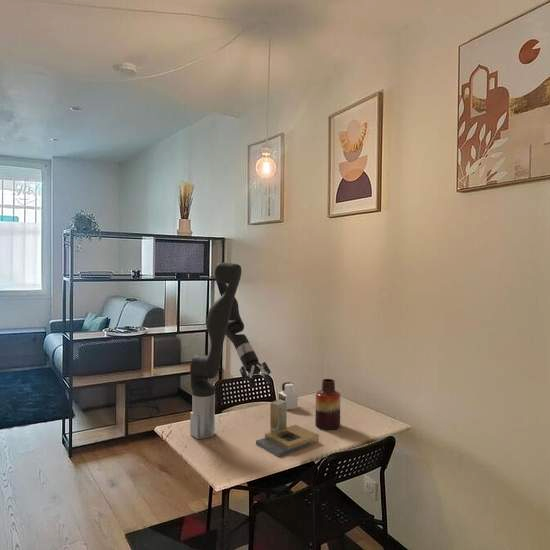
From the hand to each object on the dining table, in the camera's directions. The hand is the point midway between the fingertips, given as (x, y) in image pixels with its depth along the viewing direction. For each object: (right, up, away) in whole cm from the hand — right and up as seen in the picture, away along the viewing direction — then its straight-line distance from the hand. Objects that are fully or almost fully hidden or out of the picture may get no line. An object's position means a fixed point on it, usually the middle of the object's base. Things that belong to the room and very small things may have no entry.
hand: (262, 385), depth 199 cm
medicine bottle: (+12, -16, +20) cm, 28 cm away
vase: (+29, -17, -4) cm, 34 cm away
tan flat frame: (+11, -18, -22) cm, 31 cm away
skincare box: (+7, -17, -9) cm, 21 cm away
